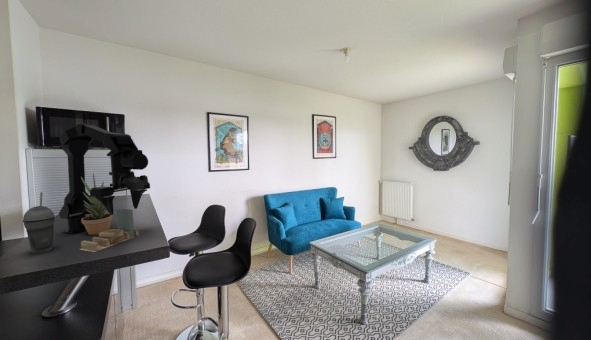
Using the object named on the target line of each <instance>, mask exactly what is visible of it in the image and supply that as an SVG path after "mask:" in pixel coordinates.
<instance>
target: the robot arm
mask: <svg viewBox="0 0 591 340" xmlns="http://www.w3.org/2000/svg"><path fill="white" fill-rule="evenodd" d="M94 140H96V141H99V142H100V143H103V147H105V148H107V149H108V150H109V152H108V153H106V157H110V170H111V171H109V172H108V175H109V176H111V182H112V183H109V186H104V185H103V186H101V185H100V186H96V187H94V186H93V187H91V188H90V189H91V190H90V193H89V192H88V191H86V190H87V189H86V187H85V185H84V183H83V181H82V179H81V177H82V178H83V180H84V181H85V182H86V172H85V171H86V170H85V169H86V168H85V155H86V153H87V152H88V151H89V149H90V144H91V143H92V142H93V141H94ZM59 143H60V146H61V150H63V152H64V153H65V154H66V155H67V168H68V170H67V171H68V173H67V174H68V187H69V191H68V193H67V194H66V196H65V198H64V199H63V200H64V201H63V205H62V207H61V209H60V210H59V213H58V215H59V218H60V219H65V220H66V226H67V229H65V230H63V233H66V234H79V233H82V232H84V231H87V230H86V228H85V226H84V224H82V221H81V219H82V218H85V217H87V215H89V214H90V215H92V214H91V213H89V212H88V211H87V210H86V209H88V208H87V207H86V206H87V205H86V204H85V203H84V201H85V202H87V203H88V204H91V205H92V203H91V202H90V201H89V200H88V199H87V198H86V196H85V195H84V193H85V194H86V195H87V196H88V197H90V198H91V196H94V197H95V198H98V199H99V200H100V202H101V203H102V204H103V205H104V207H105V208H106V211H107V212H108V214H110V215H114V199H115V197H116V196H115V195H114V193H119V192H123V191H128V190H129V192H130V197H131V198H130V199H131V203H132V206H133V209H135V210H137V209H138V207H139V205H140V201H141V198H142V196H143V195H144V193H145V192H147V191H148V189H151V183H150V182H149V179H148V175H146V174H143V175H140V176H136V175H135V172H134V171H135V170H139V171H140V170H145V169H146V168H147V167H148V165H149V158H148V157H147V155H145V154H144V153H143V149H139V148H138V146H137V145H136V144H135V142H134V140H133V139H132V136H131V135H130V134H127V133H118V132H111V131H109V130H106V129H103V128H101V127H99V126H96V125H95V124H92V123H82V122H80V123H77V124H76V125H75V126H73V127H71V128H69V129H67V130H65V131H64V132H63V133H62V134H61V135H60V136H59ZM133 170H134V171H133ZM83 192H84V193H83ZM84 204H85V205H86V206H85V205H84ZM88 210H89V209H88ZM89 211H91V210H89Z"/></svg>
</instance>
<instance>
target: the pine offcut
mask: <svg viewBox="0 0 591 340" xmlns="http://www.w3.org/2000/svg"><path fill="white" fill-rule="evenodd" d="M122 235H124V234H123V230H118V228H117V229H116V228H113V229H112V228H109V230H106V231H103V232H101V233H99V234H98V237H99V238H106V239H114V238H117V237H119V236H122Z"/></svg>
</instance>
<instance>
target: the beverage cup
mask: <svg viewBox="0 0 591 340" xmlns="http://www.w3.org/2000/svg"><path fill="white" fill-rule="evenodd" d="M39 194H40V196H39V205H37V206H33V207H31V208H28V210H27V211H25V213H24V215H23V218H22V223H23V226H24V228H25V231H26V234H27V239H28V243H29V246H30V251H31V253H32V254H33V255H37V254H43V253H47V252H50V251H52V250H53V248H54V224H55V220H56V219H55V218H56V215H55V213H54V212H53V210H52V208H50V207H48V206H44V205H43V191H41V192H40V193H39Z"/></svg>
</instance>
